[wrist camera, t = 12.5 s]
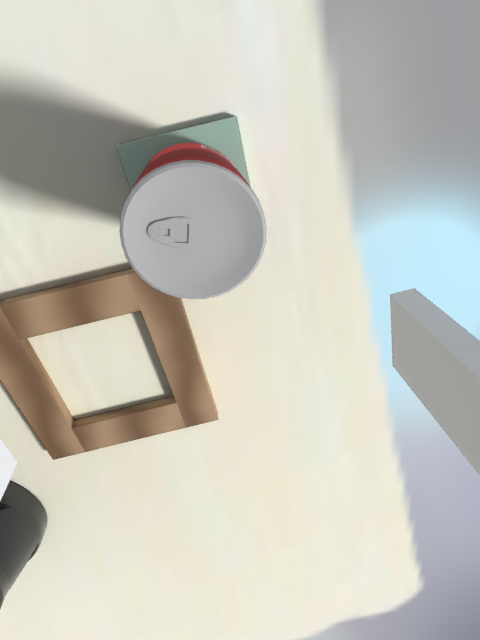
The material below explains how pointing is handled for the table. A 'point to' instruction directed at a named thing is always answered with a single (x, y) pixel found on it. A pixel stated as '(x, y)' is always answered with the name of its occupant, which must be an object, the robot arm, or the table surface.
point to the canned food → (192, 223)
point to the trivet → (212, 134)
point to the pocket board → (85, 307)
